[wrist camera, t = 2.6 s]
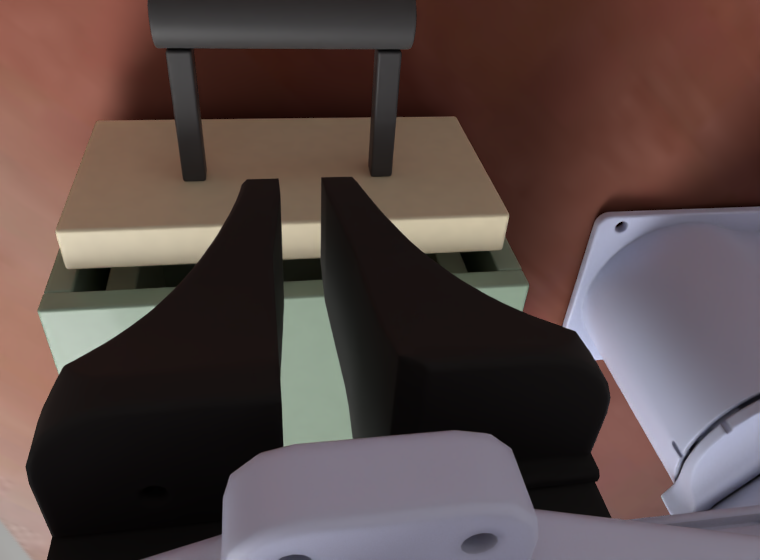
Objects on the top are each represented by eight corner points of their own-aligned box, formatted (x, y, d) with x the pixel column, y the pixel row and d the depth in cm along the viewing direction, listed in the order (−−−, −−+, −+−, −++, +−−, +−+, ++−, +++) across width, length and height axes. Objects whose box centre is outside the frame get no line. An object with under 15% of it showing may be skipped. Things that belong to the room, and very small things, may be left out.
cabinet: (90, 156, 22) (35, 311, 16) (460, 149, 24) (530, 284, 18) (151, 424, 30) (130, 590, 24) (422, 402, 32) (462, 551, 26)
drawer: (57, -59, 17) (-9, 16, 13) (479, -47, 19) (552, 22, 15) (155, 397, 28) (138, 525, 24) (419, 377, 30) (450, 493, 25)
